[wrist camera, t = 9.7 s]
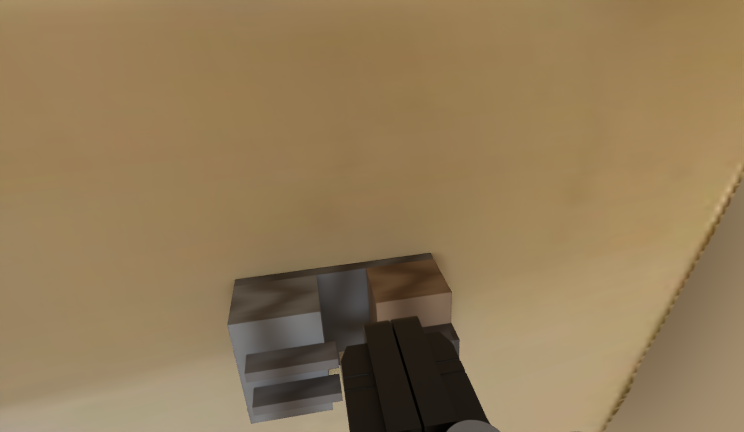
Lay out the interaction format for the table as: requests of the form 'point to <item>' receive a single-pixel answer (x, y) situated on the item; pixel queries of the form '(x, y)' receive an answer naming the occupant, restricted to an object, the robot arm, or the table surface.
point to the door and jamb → (324, 326)
